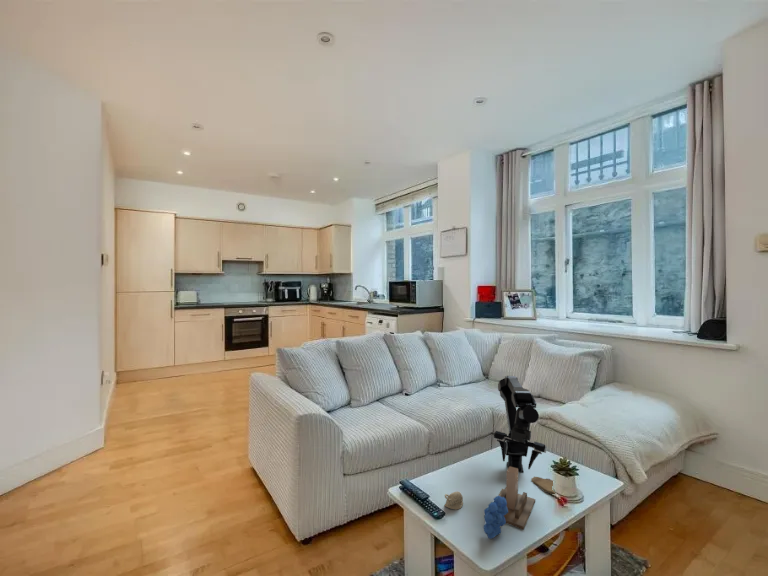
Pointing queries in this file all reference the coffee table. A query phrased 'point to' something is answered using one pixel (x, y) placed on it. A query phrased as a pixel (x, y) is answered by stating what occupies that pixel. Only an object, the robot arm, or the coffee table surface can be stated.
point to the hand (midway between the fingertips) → (516, 465)
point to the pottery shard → (543, 484)
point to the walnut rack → (519, 510)
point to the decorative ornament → (454, 500)
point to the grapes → (495, 516)
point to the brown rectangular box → (512, 488)
